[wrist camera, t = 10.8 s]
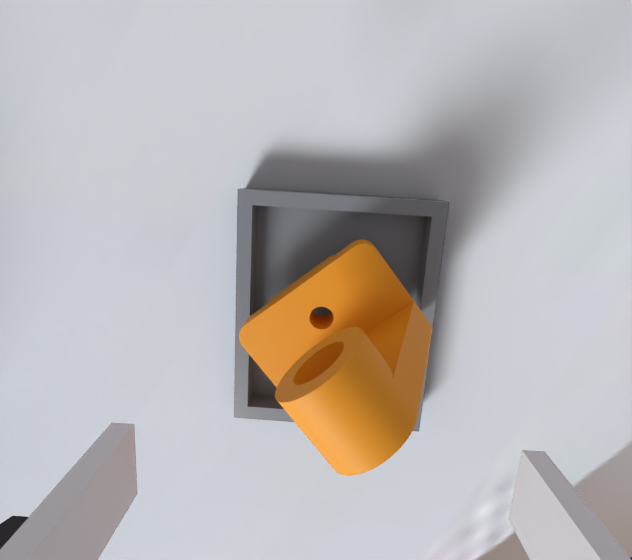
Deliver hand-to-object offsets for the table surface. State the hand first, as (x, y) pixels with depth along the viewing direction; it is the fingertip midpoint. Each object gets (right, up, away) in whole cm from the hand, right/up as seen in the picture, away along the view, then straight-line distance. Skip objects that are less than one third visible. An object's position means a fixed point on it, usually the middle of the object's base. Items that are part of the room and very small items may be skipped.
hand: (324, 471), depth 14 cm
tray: (+1, +4, +18) cm, 19 cm away
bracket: (+1, +4, +16) cm, 16 cm away
